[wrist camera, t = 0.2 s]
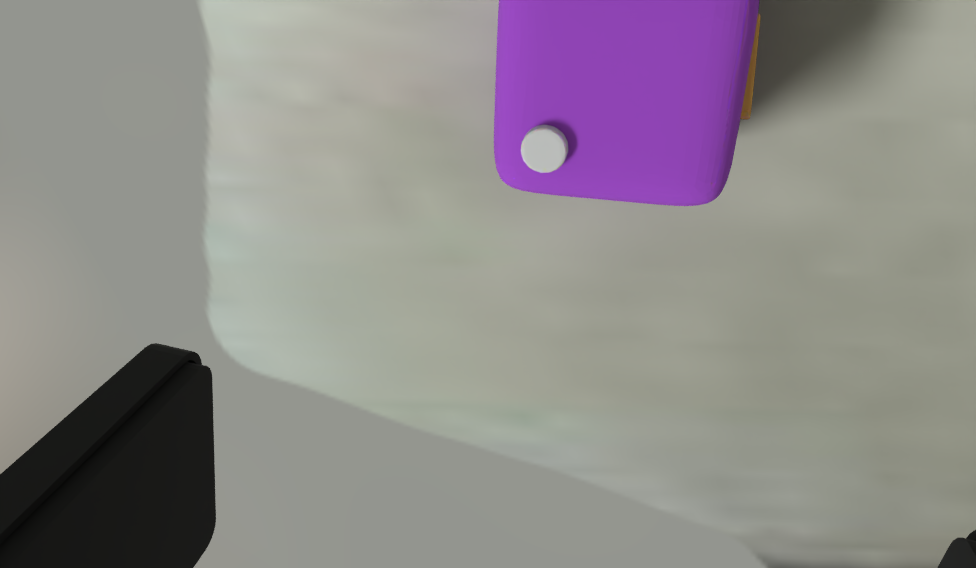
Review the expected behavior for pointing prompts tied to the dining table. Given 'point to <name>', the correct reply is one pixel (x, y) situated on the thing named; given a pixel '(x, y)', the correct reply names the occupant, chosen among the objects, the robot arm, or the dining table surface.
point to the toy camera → (623, 96)
